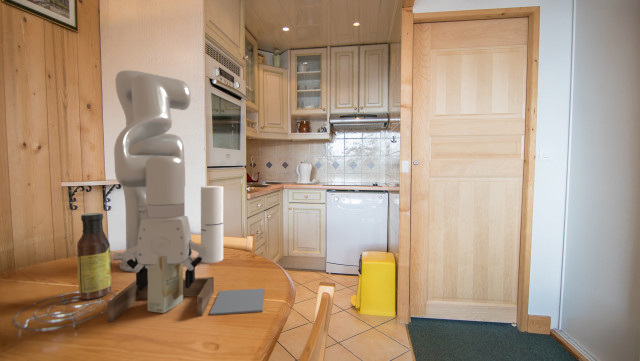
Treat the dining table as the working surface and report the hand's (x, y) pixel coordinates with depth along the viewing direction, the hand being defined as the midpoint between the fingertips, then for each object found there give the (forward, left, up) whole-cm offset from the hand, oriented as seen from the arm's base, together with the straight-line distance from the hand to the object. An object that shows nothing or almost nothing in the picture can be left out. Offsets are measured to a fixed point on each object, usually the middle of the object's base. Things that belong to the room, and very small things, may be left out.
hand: (166, 286), depth 62 cm
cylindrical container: (+3, +32, -4) cm, 32 cm away
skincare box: (0, 0, -4) cm, 4 cm away
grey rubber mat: (+16, 0, -4) cm, 17 cm away
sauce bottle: (-19, +8, -4) cm, 21 cm away
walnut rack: (0, 0, -4) cm, 4 cm away
